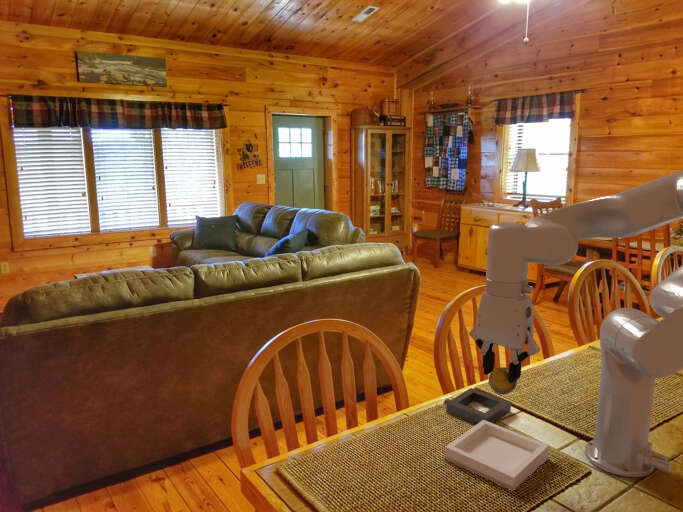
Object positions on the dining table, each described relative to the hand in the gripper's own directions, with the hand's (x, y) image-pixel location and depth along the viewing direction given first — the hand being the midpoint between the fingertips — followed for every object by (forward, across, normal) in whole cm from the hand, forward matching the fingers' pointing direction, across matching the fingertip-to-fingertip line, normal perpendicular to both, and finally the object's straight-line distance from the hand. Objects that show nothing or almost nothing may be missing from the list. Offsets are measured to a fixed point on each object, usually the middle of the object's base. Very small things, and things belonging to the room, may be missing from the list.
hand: (501, 375), depth 106 cm
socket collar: (+18, +13, -15) cm, 27 cm away
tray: (+18, 0, 0) cm, 18 cm away
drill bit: (+4, -1, 0) cm, 4 cm away
